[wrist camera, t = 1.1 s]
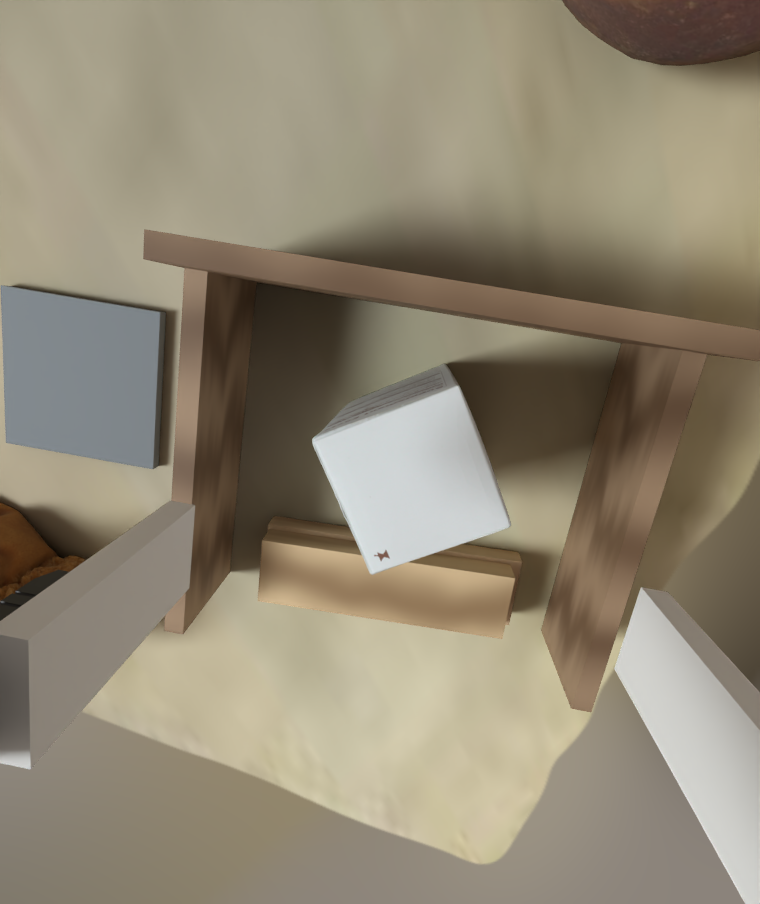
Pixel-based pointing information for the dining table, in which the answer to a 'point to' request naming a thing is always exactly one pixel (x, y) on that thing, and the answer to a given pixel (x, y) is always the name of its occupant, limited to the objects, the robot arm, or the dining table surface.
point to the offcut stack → (388, 580)
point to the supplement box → (411, 470)
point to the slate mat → (82, 376)
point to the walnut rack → (640, 333)
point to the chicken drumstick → (673, 28)
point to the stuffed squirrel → (25, 553)
